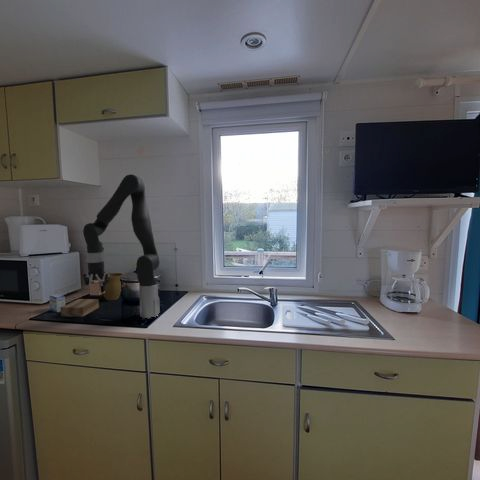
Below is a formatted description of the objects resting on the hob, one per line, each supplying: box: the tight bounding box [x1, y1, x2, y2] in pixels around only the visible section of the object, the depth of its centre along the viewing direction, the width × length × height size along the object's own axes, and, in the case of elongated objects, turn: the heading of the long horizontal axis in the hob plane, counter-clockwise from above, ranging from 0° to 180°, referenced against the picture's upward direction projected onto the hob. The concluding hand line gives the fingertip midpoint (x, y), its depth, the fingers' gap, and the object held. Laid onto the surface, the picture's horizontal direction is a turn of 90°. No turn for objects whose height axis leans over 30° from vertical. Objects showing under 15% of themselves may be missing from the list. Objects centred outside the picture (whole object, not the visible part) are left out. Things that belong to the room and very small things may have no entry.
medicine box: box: [49, 293, 66, 313], centre depth 140 cm, size 8×4×9 cm, turn 62°
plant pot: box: [102, 272, 125, 301], centre depth 160 cm, size 15×15×16 cm
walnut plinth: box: [60, 298, 100, 318], centre depth 138 cm, size 12×14×5 cm
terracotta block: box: [89, 281, 105, 296], centre depth 130 cm, size 5×5×6 cm
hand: (97, 292), depth 130 cm, fingers closed on terracotta block, 5 cm apart
